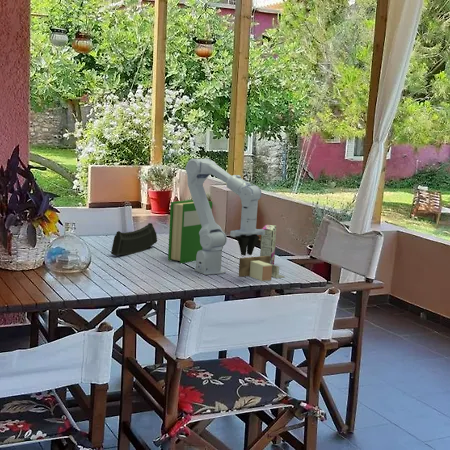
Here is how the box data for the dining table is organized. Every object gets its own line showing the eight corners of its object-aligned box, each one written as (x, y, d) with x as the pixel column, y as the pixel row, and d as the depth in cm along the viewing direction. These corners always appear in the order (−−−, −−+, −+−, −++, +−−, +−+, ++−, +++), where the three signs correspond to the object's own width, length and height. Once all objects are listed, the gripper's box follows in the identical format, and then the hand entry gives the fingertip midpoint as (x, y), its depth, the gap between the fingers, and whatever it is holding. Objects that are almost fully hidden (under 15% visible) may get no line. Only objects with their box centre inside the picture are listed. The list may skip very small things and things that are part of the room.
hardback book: (181, 263, 275) (184, 204, 271) (167, 260, 279) (170, 202, 275) (208, 257, 289) (212, 201, 285) (195, 254, 293) (198, 199, 289)
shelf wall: (240, 276, 258) (241, 258, 257) (238, 276, 259) (239, 258, 258) (269, 273, 266) (270, 256, 265) (267, 273, 267) (268, 255, 266)
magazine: (114, 237, 274) (153, 208, 298) (107, 236, 275) (147, 208, 299) (120, 274, 281) (158, 244, 305) (113, 273, 282) (151, 243, 306)
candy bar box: (262, 263, 284) (265, 224, 282) (274, 264, 283) (277, 225, 281) (258, 268, 274) (261, 228, 271) (270, 270, 273) (273, 229, 270)
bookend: (276, 278, 259) (277, 266, 259) (265, 274, 265) (265, 262, 264) (284, 277, 262) (285, 265, 261) (273, 273, 267) (273, 262, 266)
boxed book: (262, 281, 253) (263, 265, 252) (249, 276, 260) (250, 261, 259) (271, 280, 256) (272, 264, 255) (257, 275, 262) (258, 260, 261)
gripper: (239, 221, 243) (236, 258, 245) (271, 219, 251) (268, 255, 253) (227, 217, 249) (225, 254, 251) (259, 216, 257) (256, 251, 259)
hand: (246, 254), depth 253 cm, fingers closed
